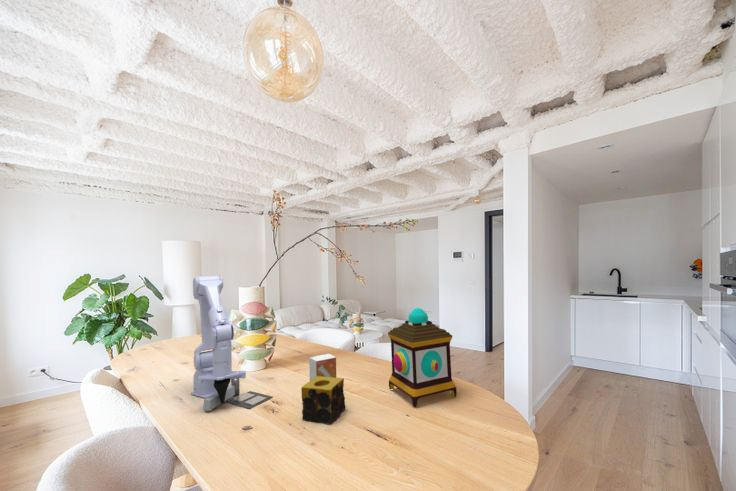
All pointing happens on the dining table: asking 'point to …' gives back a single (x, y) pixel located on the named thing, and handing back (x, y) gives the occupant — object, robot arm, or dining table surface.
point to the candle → (323, 399)
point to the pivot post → (236, 386)
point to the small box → (322, 366)
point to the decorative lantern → (421, 358)
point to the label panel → (249, 399)
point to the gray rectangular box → (215, 400)
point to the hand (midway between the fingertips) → (222, 402)
